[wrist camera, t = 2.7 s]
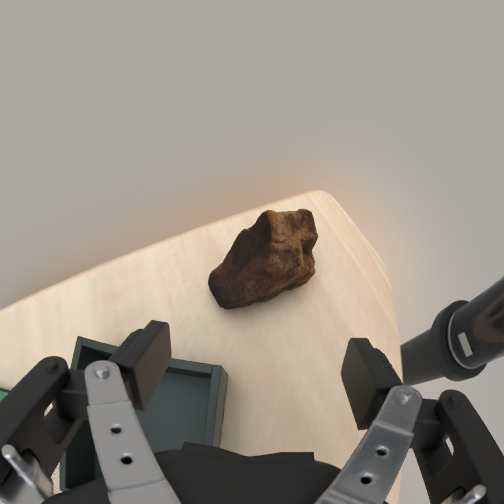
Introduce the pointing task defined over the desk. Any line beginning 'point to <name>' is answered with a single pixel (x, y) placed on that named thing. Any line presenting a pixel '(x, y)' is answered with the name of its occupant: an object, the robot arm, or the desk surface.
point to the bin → (153, 412)
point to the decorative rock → (266, 259)
